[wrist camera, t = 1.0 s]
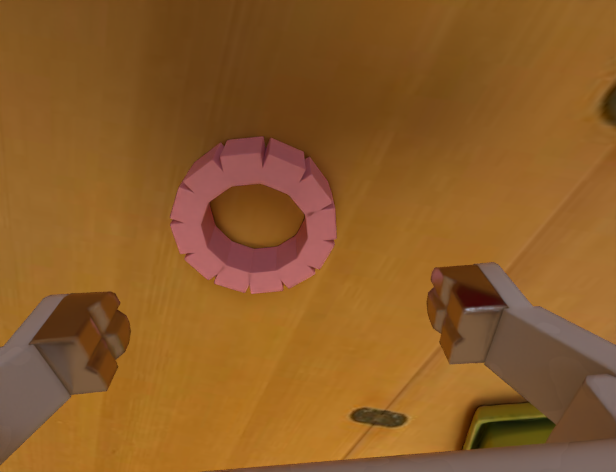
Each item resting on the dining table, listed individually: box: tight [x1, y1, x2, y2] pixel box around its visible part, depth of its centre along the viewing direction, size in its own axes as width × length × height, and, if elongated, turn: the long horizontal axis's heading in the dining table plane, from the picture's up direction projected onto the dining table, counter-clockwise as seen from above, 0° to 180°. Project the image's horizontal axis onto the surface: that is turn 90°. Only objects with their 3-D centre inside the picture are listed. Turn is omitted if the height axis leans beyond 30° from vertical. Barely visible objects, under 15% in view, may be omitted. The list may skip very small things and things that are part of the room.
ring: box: [170, 137, 337, 294], centre depth 22 cm, size 10×10×3 cm
